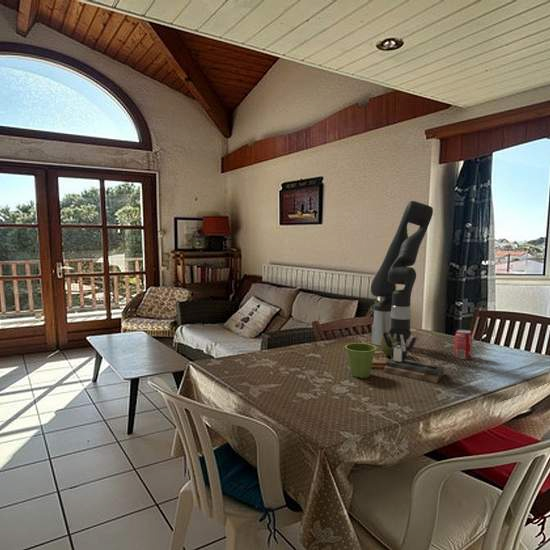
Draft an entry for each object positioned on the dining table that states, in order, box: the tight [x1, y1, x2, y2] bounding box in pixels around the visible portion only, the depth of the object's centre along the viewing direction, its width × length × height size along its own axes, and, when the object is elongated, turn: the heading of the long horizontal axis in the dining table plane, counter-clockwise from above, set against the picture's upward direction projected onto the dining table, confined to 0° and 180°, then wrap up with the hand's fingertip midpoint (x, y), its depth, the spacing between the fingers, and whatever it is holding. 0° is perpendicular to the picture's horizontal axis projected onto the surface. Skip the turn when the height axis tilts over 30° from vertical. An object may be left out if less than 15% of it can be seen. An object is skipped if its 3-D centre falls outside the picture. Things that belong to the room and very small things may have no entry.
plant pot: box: [344, 342, 377, 379], centre depth 153 cm, size 12×12×11 cm
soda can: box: [453, 329, 473, 360], centre depth 175 cm, size 7×7×12 cm
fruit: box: [379, 335, 402, 357], centre depth 176 cm, size 12×12×10 cm
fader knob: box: [393, 345, 403, 363], centre depth 159 cm, size 3×5×7 cm, turn 143°
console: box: [383, 357, 446, 384], centre depth 155 cm, size 20×12×4 cm, turn 53°
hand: (399, 358), depth 159 cm, fingers closed on fader knob, 3 cm apart
